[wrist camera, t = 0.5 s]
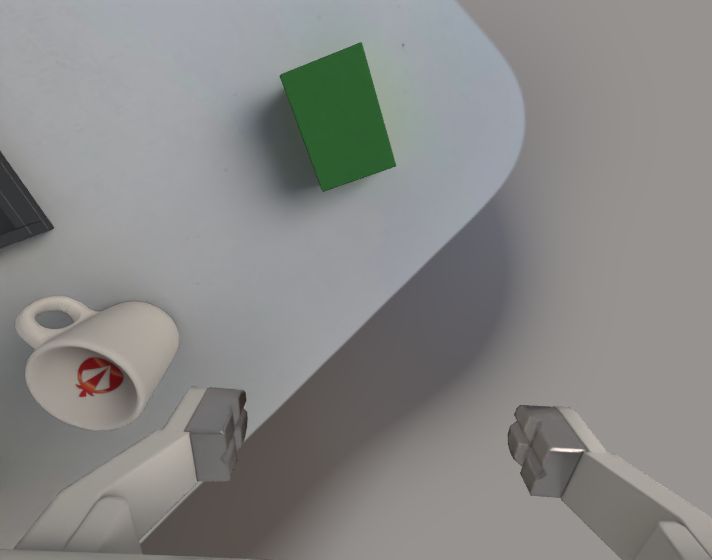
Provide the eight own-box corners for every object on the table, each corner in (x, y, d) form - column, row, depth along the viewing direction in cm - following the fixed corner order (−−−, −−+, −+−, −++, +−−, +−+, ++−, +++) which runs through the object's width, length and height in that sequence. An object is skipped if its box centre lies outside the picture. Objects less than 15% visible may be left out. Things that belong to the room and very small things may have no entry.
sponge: (290, 83, 24) (279, 75, 20) (360, 55, 23) (361, 41, 19) (327, 183, 26) (322, 192, 23) (390, 160, 26) (396, 166, 22)
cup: (54, 308, 31) (-41, 366, 23) (100, 248, 28) (12, 290, 21) (160, 379, 34) (106, 448, 26) (209, 329, 31) (165, 390, 24)
